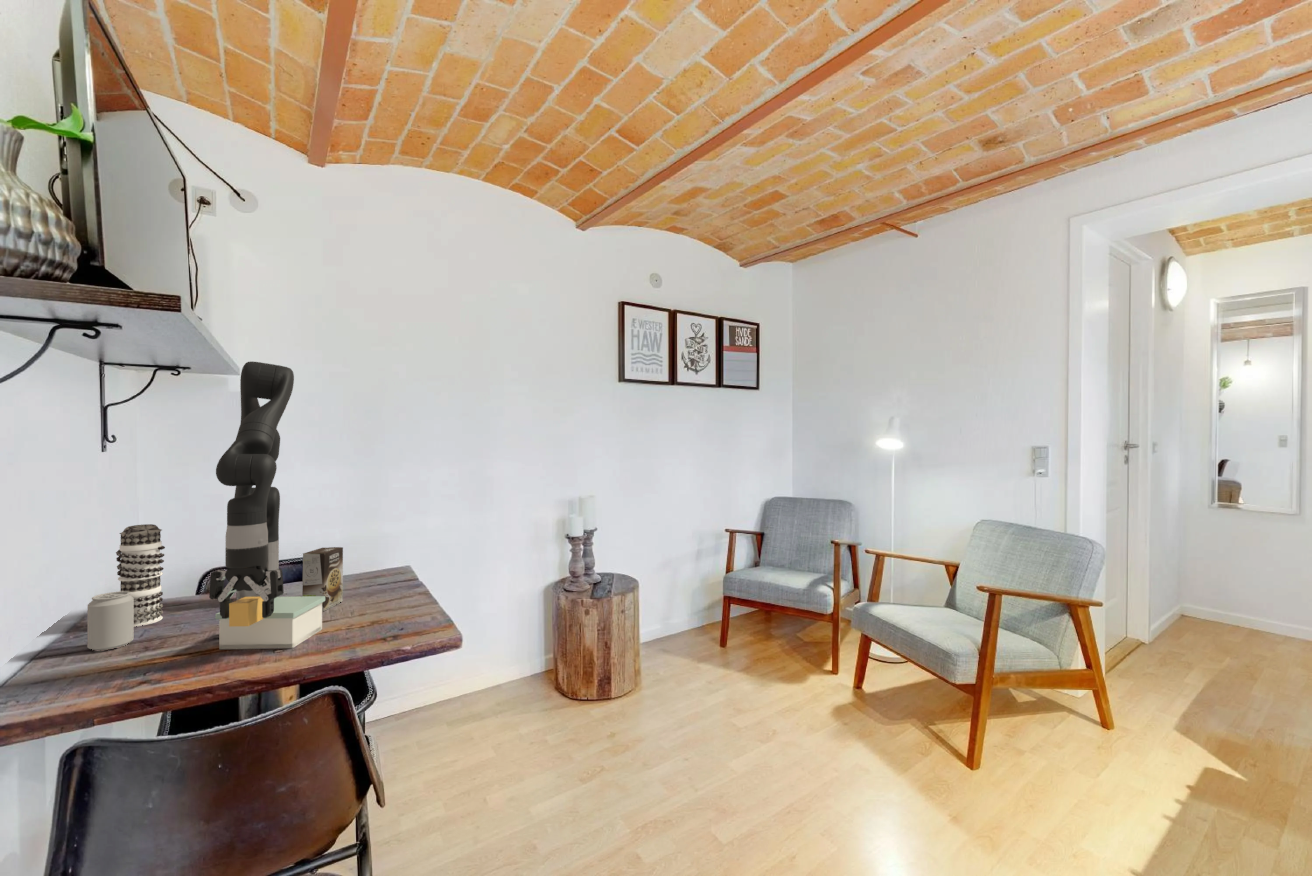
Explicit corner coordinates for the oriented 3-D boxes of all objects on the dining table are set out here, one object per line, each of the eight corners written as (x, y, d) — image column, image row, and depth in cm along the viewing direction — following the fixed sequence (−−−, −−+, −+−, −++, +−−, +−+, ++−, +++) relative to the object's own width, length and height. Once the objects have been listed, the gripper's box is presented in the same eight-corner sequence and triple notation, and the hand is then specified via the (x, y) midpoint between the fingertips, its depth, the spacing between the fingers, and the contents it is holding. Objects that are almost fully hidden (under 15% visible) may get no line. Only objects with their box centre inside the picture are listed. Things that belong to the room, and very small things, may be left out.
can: (104, 654, 120) (104, 600, 120) (78, 651, 121) (78, 598, 121) (142, 641, 127) (142, 590, 127) (117, 639, 129) (117, 588, 129)
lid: (197, 630, 117) (197, 603, 117) (254, 605, 135) (255, 581, 135) (279, 629, 118) (279, 602, 118) (325, 604, 136) (325, 581, 136)
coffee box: (324, 611, 149) (324, 553, 149) (301, 611, 149) (301, 553, 149) (343, 601, 159) (344, 546, 158) (322, 601, 159) (322, 546, 159)
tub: (219, 649, 123) (219, 618, 123) (255, 630, 135) (255, 602, 135) (292, 648, 124) (292, 617, 124) (322, 629, 136) (322, 601, 136)
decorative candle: (141, 615, 146) (141, 522, 146) (174, 616, 145) (174, 523, 145) (105, 627, 136) (105, 528, 136) (140, 628, 136) (140, 528, 136)
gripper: (290, 540, 124) (290, 611, 124) (226, 541, 124) (225, 612, 124) (269, 547, 117) (269, 622, 117) (200, 547, 116) (200, 623, 116)
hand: (246, 617), depth 120 cm, fingers open, 8 cm apart
